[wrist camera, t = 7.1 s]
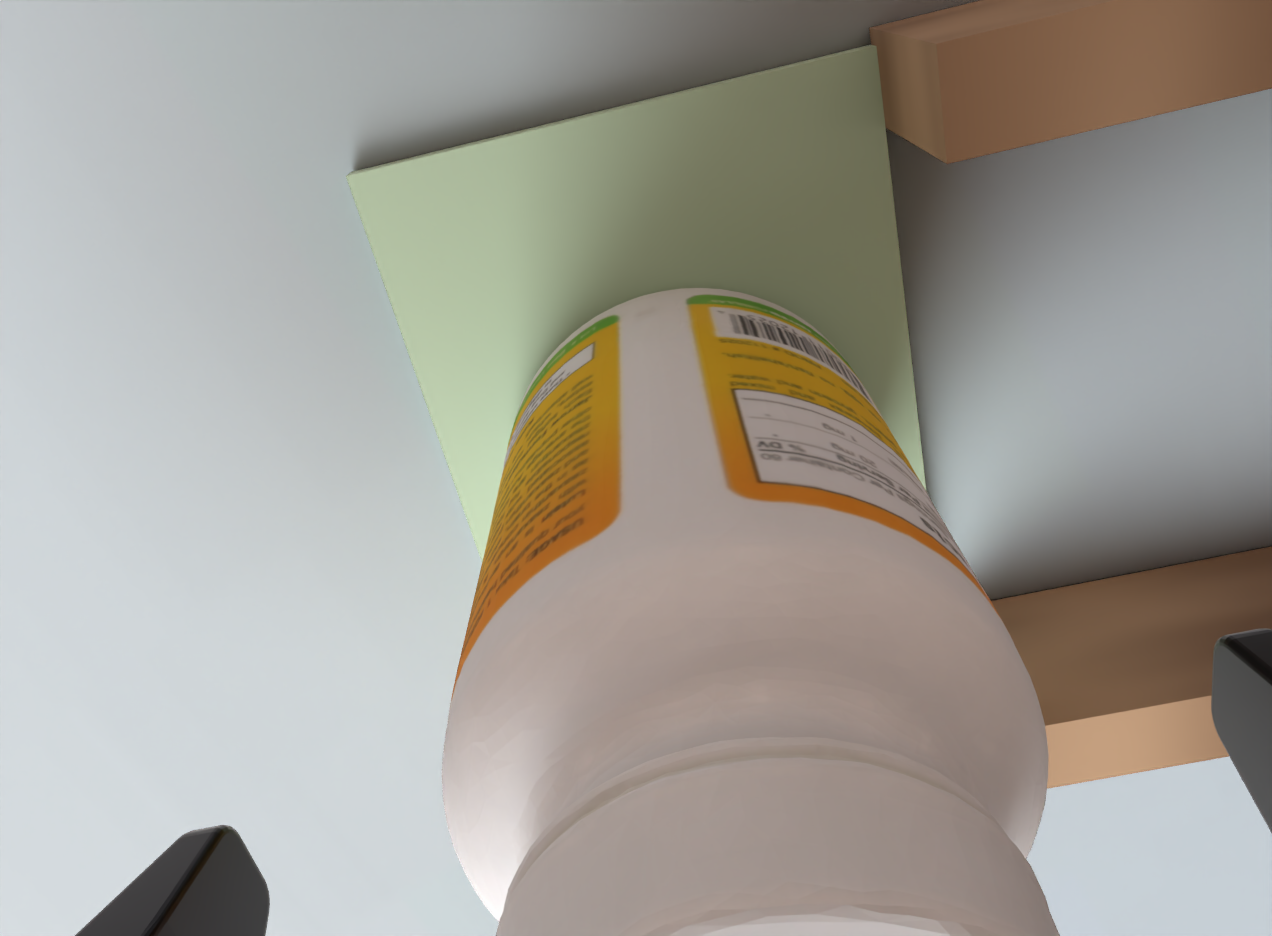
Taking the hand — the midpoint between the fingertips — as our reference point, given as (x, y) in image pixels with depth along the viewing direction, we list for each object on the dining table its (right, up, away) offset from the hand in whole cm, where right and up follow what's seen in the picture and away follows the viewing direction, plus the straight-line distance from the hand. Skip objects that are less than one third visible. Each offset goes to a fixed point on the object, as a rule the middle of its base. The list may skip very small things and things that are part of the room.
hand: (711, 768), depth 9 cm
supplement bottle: (0, +3, +6) cm, 7 cm away
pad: (0, +3, +6) cm, 7 cm away
